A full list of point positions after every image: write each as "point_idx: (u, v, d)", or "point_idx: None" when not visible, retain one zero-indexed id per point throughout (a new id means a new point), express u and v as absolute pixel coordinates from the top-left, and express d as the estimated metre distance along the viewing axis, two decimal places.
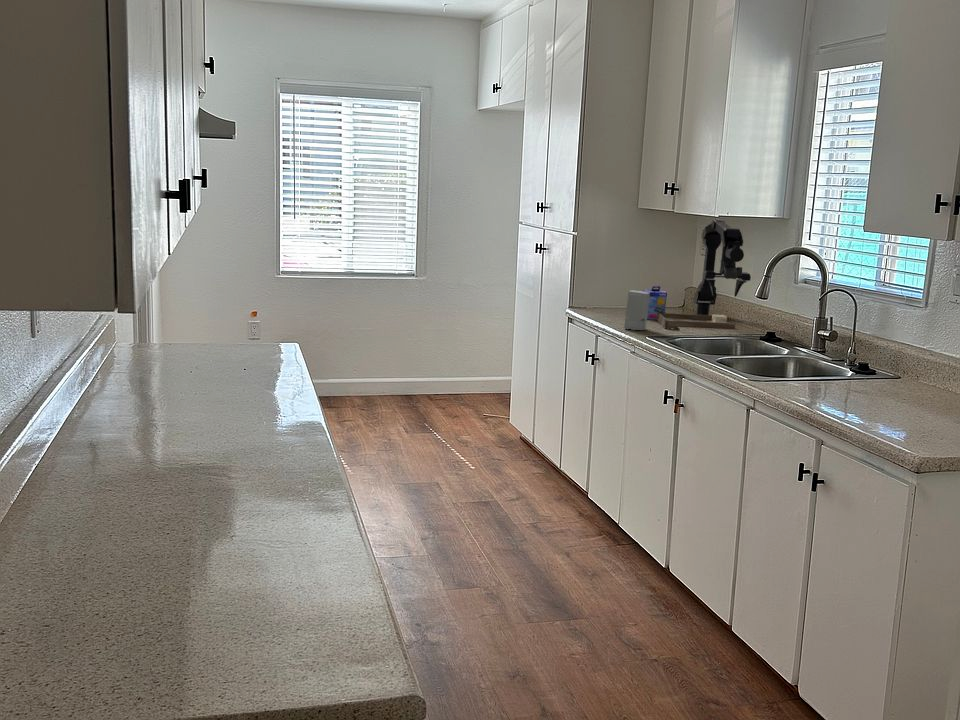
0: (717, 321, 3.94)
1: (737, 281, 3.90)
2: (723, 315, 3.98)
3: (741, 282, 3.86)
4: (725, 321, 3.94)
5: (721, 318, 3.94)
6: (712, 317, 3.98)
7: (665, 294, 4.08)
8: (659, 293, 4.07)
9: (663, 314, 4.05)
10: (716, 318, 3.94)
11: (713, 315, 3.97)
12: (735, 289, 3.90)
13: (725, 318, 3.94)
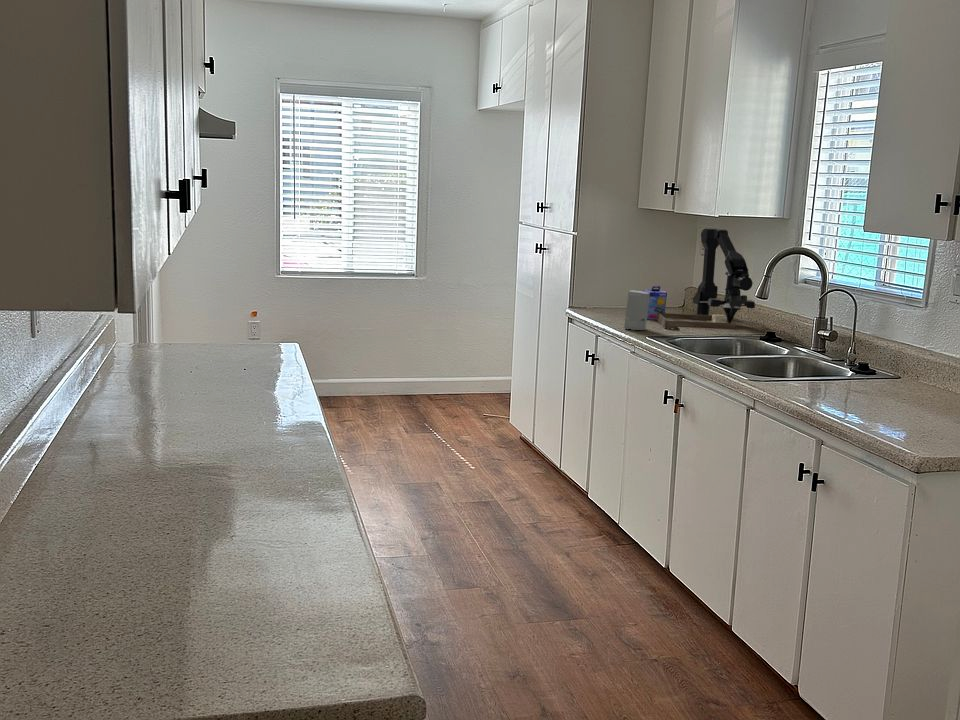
0: (717, 321, 3.94)
1: (731, 308, 3.97)
2: (723, 315, 3.98)
3: (735, 309, 3.93)
4: (725, 321, 3.94)
5: (721, 318, 3.94)
6: (712, 317, 3.98)
7: (665, 294, 4.08)
8: (659, 293, 4.07)
9: (663, 314, 4.05)
10: (716, 318, 3.94)
11: (713, 315, 3.97)
12: None
13: (725, 318, 3.94)
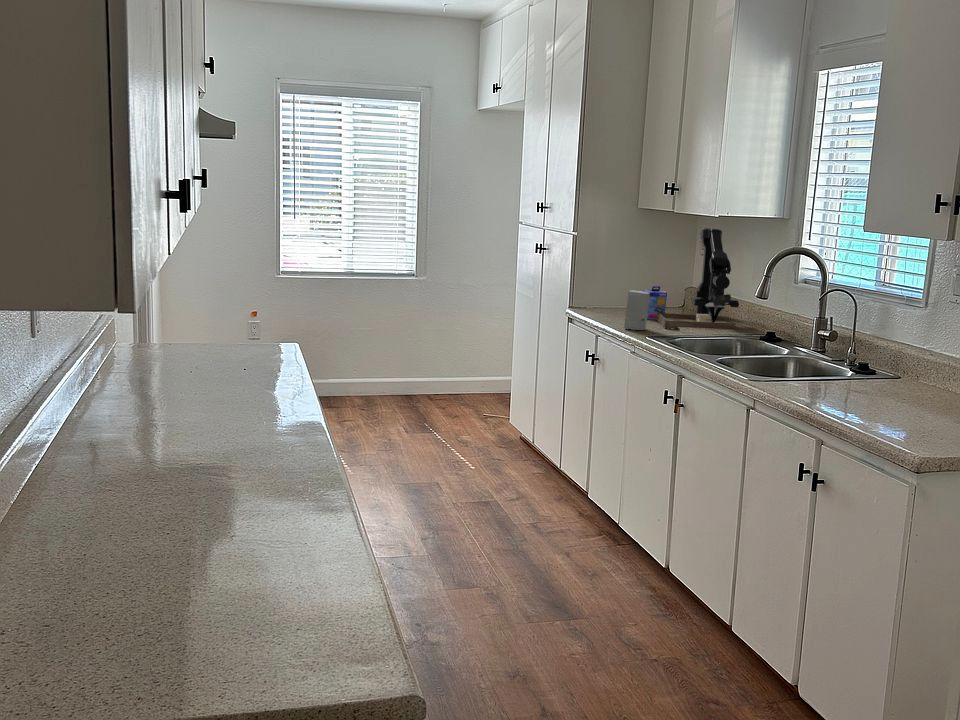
0: (701, 320, 3.94)
1: (715, 307, 3.97)
2: (707, 314, 3.97)
3: (719, 308, 3.93)
4: (709, 320, 3.94)
5: (705, 317, 3.94)
6: (696, 316, 3.98)
7: (665, 294, 4.08)
8: (659, 293, 4.07)
9: (663, 314, 4.05)
10: (700, 317, 3.94)
11: (697, 314, 3.97)
12: None
13: (709, 317, 3.94)
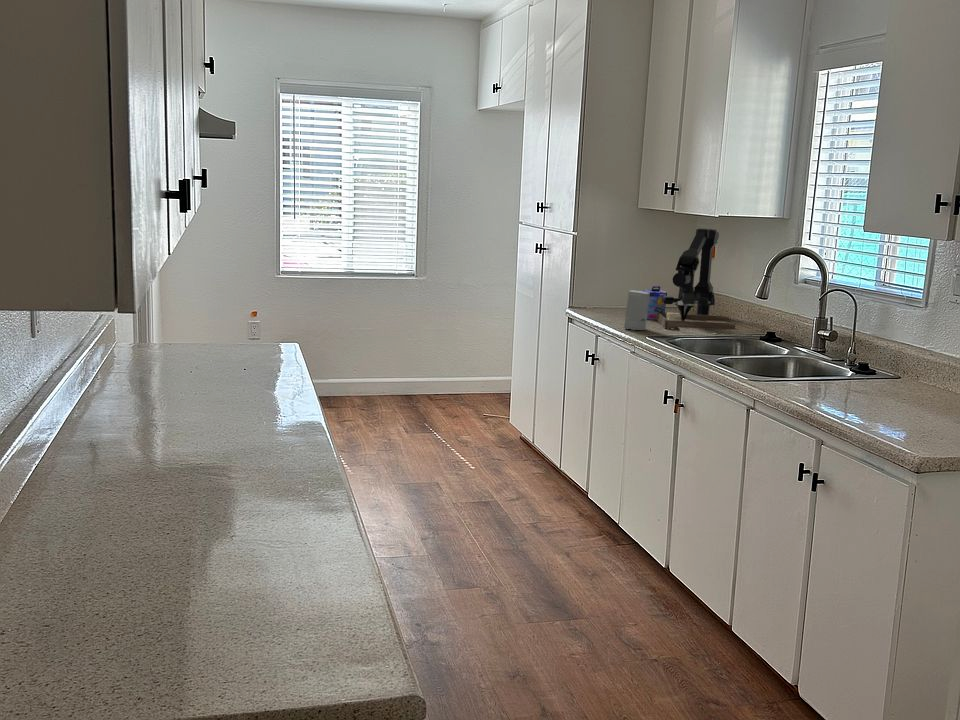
0: (671, 319, 3.94)
1: (685, 306, 3.96)
2: (677, 313, 3.97)
3: (689, 307, 3.93)
4: (679, 319, 3.94)
5: (675, 316, 3.94)
6: None
7: (665, 294, 4.08)
8: (659, 293, 4.07)
9: (663, 314, 4.05)
10: (670, 316, 3.94)
11: (667, 313, 3.96)
12: None
13: (679, 316, 3.94)
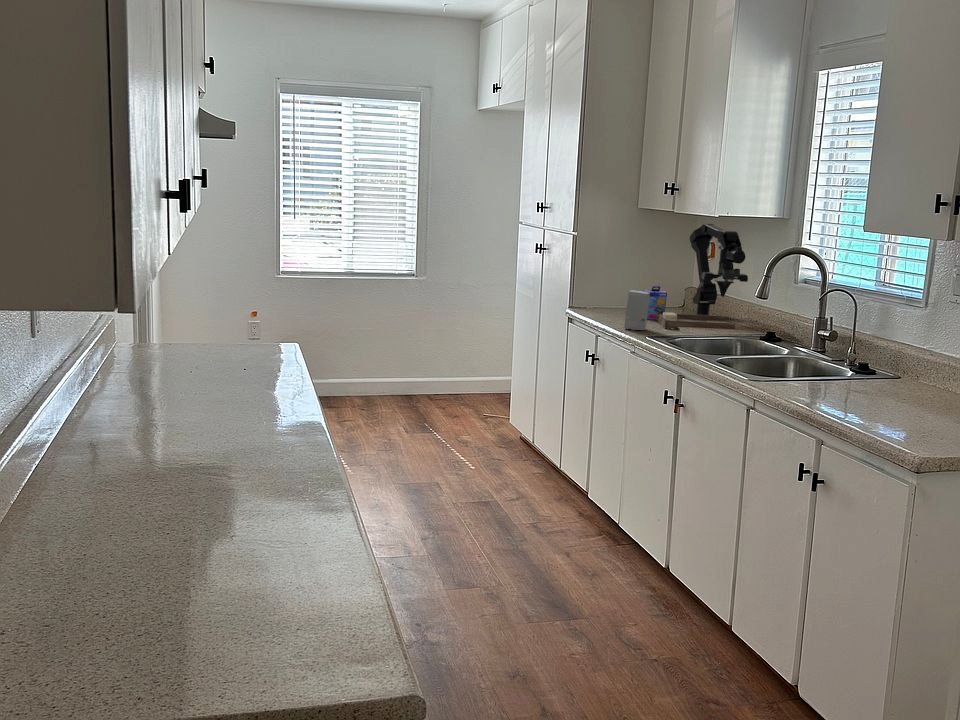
0: (667, 319, 3.94)
1: (725, 282, 4.02)
2: (674, 313, 3.97)
3: (728, 283, 3.99)
4: (675, 319, 3.94)
5: (671, 316, 3.94)
6: (663, 315, 3.98)
7: (665, 294, 4.08)
8: (659, 293, 4.07)
9: None
10: (666, 316, 3.94)
11: (663, 313, 3.96)
12: None
13: (675, 316, 3.94)
